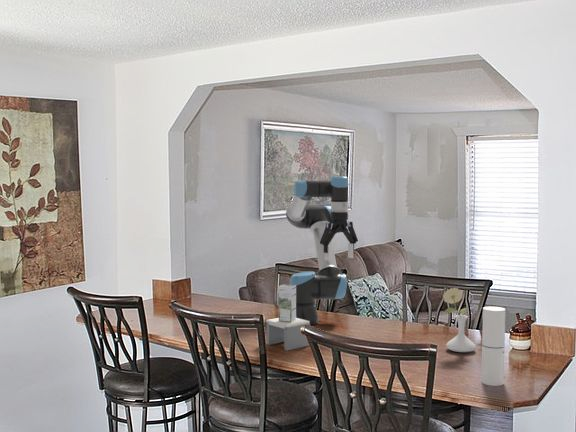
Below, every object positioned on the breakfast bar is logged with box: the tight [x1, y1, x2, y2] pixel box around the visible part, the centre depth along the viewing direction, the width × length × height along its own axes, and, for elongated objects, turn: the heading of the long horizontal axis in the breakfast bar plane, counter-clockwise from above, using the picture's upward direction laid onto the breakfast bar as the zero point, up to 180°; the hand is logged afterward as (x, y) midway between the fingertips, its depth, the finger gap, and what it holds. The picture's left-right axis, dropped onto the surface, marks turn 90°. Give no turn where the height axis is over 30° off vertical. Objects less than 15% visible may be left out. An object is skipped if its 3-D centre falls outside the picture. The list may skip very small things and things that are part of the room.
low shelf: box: [265, 317, 311, 351], centre depth 270 cm, size 13×12×10 cm
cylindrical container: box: [480, 306, 506, 387], centre depth 222 cm, size 7×7×25 cm
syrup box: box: [278, 283, 296, 322], centre depth 269 cm, size 6×6×14 cm
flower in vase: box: [442, 287, 477, 353], centre depth 261 cm, size 13×11×25 cm
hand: (339, 259), depth 295 cm, fingers open, 13 cm apart
